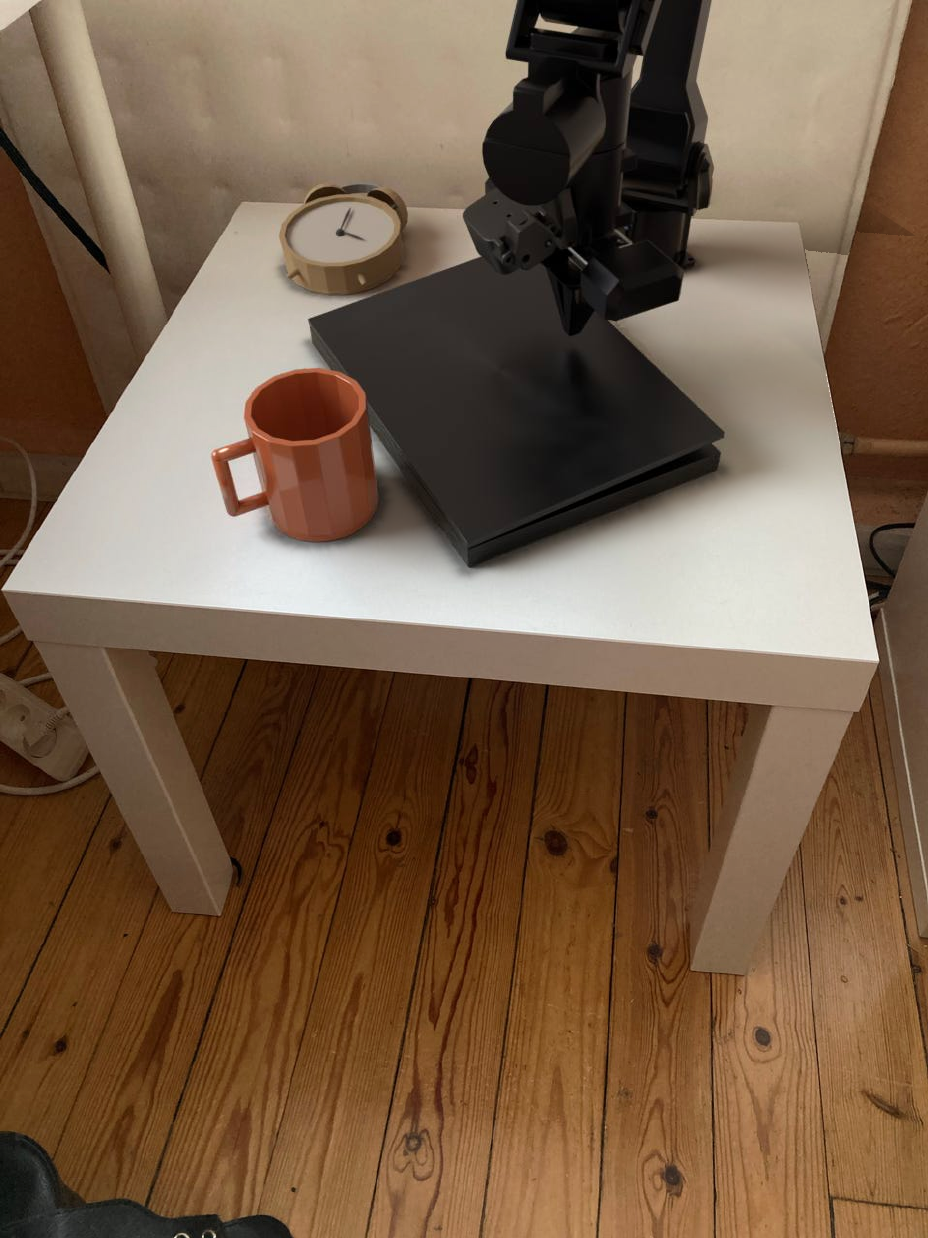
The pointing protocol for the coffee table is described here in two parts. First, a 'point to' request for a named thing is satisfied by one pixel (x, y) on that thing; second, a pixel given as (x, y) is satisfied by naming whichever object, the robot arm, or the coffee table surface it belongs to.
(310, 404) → the mug
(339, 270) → the alarm clock
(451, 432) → the laptop screen
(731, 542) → the coffee table surface
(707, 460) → the laptop
